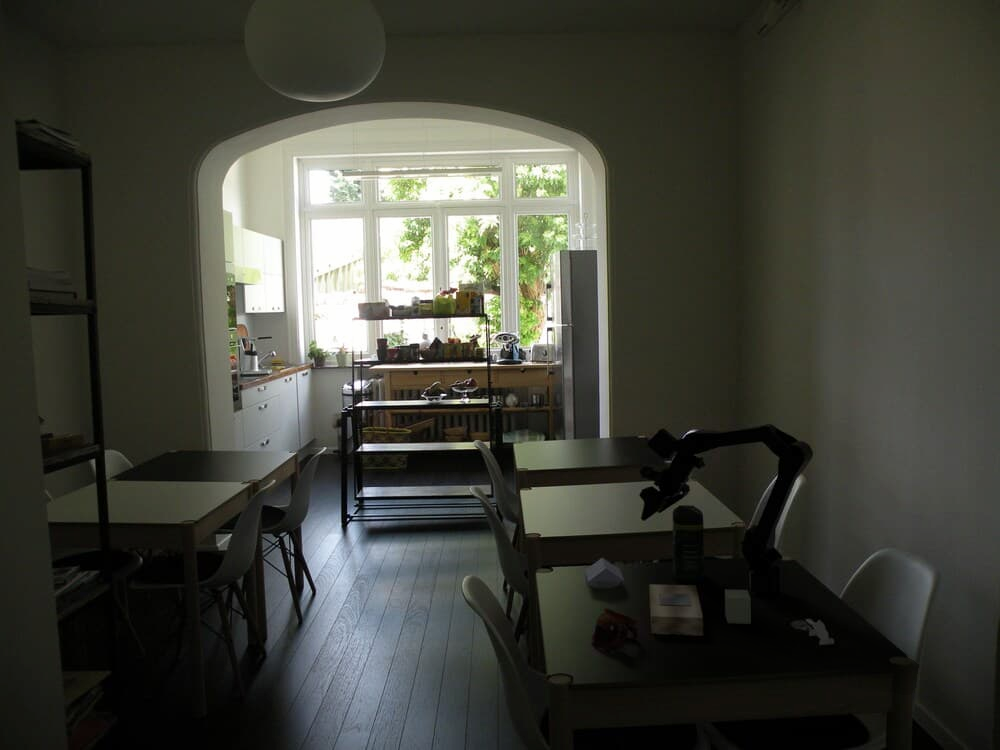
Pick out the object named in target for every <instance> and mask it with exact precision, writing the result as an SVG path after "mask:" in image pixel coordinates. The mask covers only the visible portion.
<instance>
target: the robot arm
mask: <svg viewBox="0 0 1000 750" xmlns="http://www.w3.org/2000/svg"><path fill="white" fill-rule="evenodd" d="M753 443H754V444H755V443H763V444H764V445H765V446H766V447H767V448H768V450H769V451H771V452H772V454H774V456H776V457H777V458H778V464H777V476H776V479H775V481H774V484H773V486H772V489H771V491H770V494H769V496H768V498H767V502H766V503H765V505H764V508H763V511H762V513H761V516H760V519H759V521H758V523H757V525H756V524H753V525H752V526H750V527H749V528H747V529H746V531H745V533H744V537H743V540H742V542H740V545H741V546H742V547H741V554H742V556H743V557H744V559H745V560H746V561H747V565H748V568H749V569H750V570H749V573H748V575H749V578H748V579H749V581H748V582H749V588H750V590H751V591H752V593H753V595H754V596H761V597H763V596H766V597H767V596H769V597H771V596H772V597H781V596H782V592H781V569H780V568H779V567H780V566H779V565H781V564H782V562H783V558H784V556H783V555H782V554H781V552H779V550H777V548H776V547H775V543H776V529H777V526H778V524H779V522H780V519H781V517H782V515H783V513H784V509H785V508H786V507H785V506H787V505H786V504H787V503H788V500H789V498H790V496H791V494H792V491H793V489H794V486H795V483H796V481H797V480H798V478H799V477H800V476H801V474H802V473H803V471H804V470H805V469H806V468H807V467H808V465H809V463H810V462H811V460H812V458H813V455H814V451H813V448H812V446H811V445H810V444H808V443H807V442H805V441H803V440H798V439H797V438H796V437H794V436H792V435H790V434H788V433H787V432H784V431H782V430H781V429H780V428H778V427H776V426H775V425H774V424H771V423H766V424H764V425H758V426H751V427H744V428H737V429H728V430H720V431H719V430H715V429H714V430H712V429H697V430H694V431H691V432H689V433H686V434H684V437H682V438H681V437H680V438H679V439H677V438H676V437H675V436H673V435H672V434H671V433H670V432H669V431H668V430H667V429H665V428H660V429H659V430H658V432H656V433H655V434H654V435H653V436H652V437H651V438H650V439H649V441H648V443H647V445H646V447H647V448H648V450H650V452H652V453H654V454H655V455H656V456H658V457H659V458H660V459H661V460H662V461H666V460H669V461H671V462H670V464H669V465H668V467H666V468H665V467H663V466H660V465H657V464H654V463H646V464H643V465H642V466H641V469H640V470H639V473H640V477H641V479H642V478H643V479H647V480H649V481H653V486H647V487H645V488H643V489H641V491H640V493H639V495H638V496H639V497H640V498H641V500H642V501H643V508H642V513H641V516H640V519H641V521H643V522H644V521H647V520H648V519H649V518H651V517H653V516H654V515H655V514H657V513H659V514H660V513H663V512H664V511H666V510H667V509H669V508H670V507H672V506H673V505H675V504H677V503H678V502H679V501H681V500H683V499H684V498H685V497H687V496H688V495H689V493H690V491H691V489H690V485H689V484H687V483H688V481H690V478H689V477H690V475H691V473H692V472H693V471H694V469H695V468H696V469H698V470H700V469H702V468H705V467H706V463H705V461H704V456H700V457H699V456H697V455H699V454H702V453H705V452H708V451H711V450H715V449H717V448H723V447H729V446H731V447H732V446H738V445H745V444H753ZM654 486H655V487H654ZM656 487H658V489H657V488H656Z"/></svg>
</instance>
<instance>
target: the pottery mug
mask: <svg viewBox="0 0 1000 750" xmlns="http://www.w3.org/2000/svg"><path fill="white" fill-rule="evenodd" d="M637 623H638V620H637V619H635V618H633V617H631V616H629V615H626V614H624V613H622V612H620V611H617V610H614V609H610V608H604V612H603V613H601V614H600V615H599V616H598V617H597V619H596V625H595V629H594V632H593V633H592V634H591V635H592V636H591V644H592V645H594V646H596V647H598V648H600V649H601V650H604V651H607V652H609V651H610V649H611V646H612V647H614V648H615V649H620V648H623V647H624V645H625V642H626V638H627V636H628V633H629V631H630V633H632V641H633V642H634V641H637V640H638V639H637V638H638V627H637ZM611 626H612V627H613V629H611Z"/></svg>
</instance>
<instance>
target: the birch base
mask: <svg viewBox="0 0 1000 750" xmlns="http://www.w3.org/2000/svg"><path fill="white" fill-rule="evenodd" d="M648 589H649V613H650V624H651V625H650V628H651V629H652V630H651V635H669V634H676V636H699V637H700V636H701V637H702V636H704V615H703V612H702V606H701V603H700V598H699V594H698V591H697V590H698V589H697V585H695V584H694V585H690V584H689V585H687V584H681V585H680V584H652V583H651V584H650V583H649V588H648ZM655 633H656V634H655ZM680 634H681V635H680Z"/></svg>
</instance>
